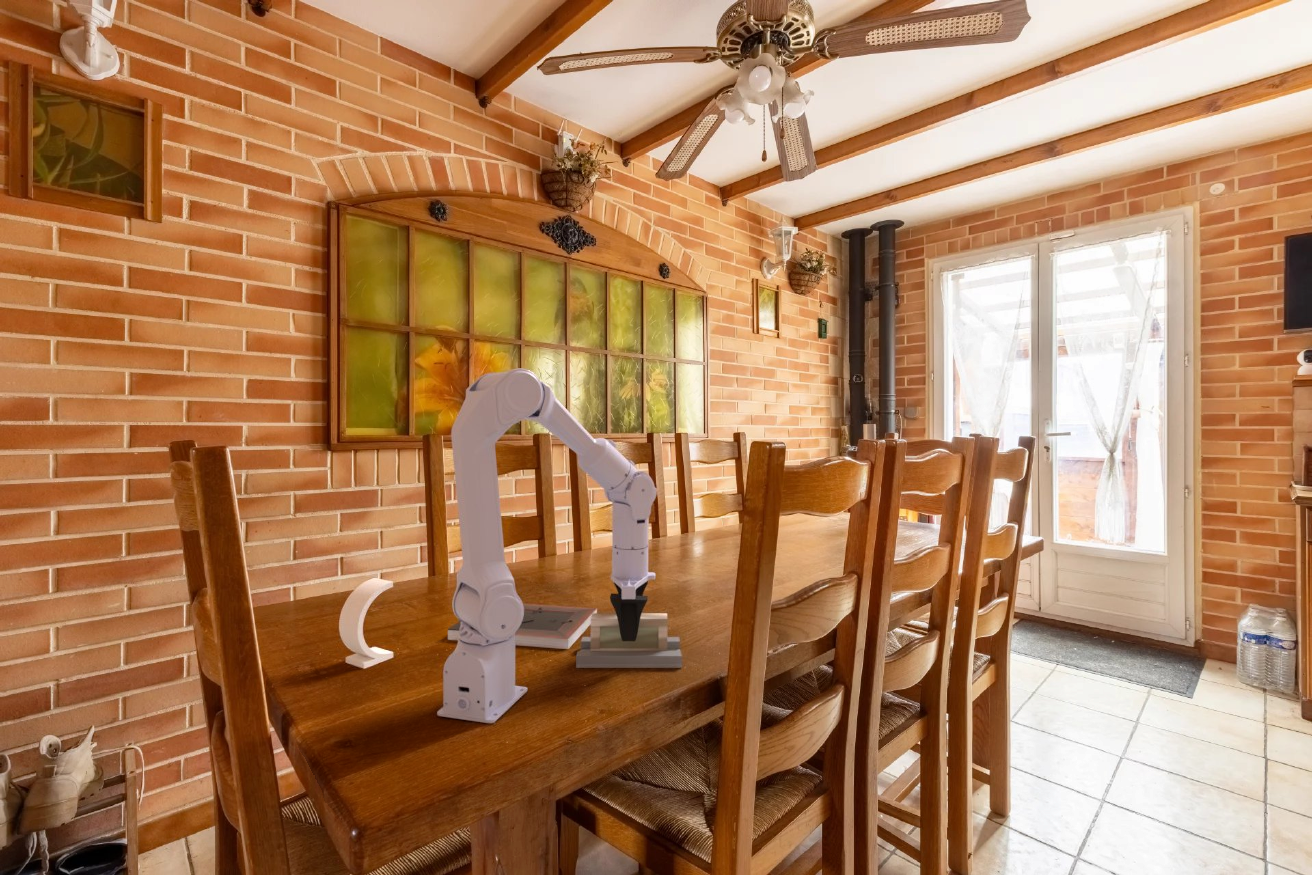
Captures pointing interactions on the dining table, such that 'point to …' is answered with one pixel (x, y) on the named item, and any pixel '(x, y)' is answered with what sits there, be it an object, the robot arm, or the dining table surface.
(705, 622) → the dining table surface
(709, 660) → the dining table surface
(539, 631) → the picture frame
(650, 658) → the grooved channel
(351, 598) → the headphone stand
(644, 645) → the frame
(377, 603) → the dining table surface
